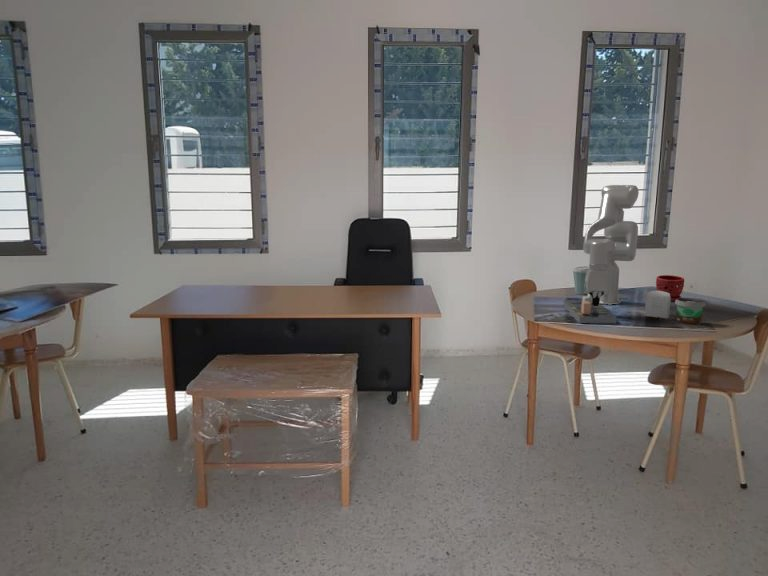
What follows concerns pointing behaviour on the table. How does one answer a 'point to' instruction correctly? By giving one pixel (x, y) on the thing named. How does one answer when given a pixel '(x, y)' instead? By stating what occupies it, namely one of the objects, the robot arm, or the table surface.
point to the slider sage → (587, 298)
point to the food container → (689, 311)
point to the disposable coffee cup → (580, 279)
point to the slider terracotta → (585, 307)
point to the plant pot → (670, 285)
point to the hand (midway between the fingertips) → (595, 305)
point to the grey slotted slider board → (596, 313)
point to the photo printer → (658, 304)
